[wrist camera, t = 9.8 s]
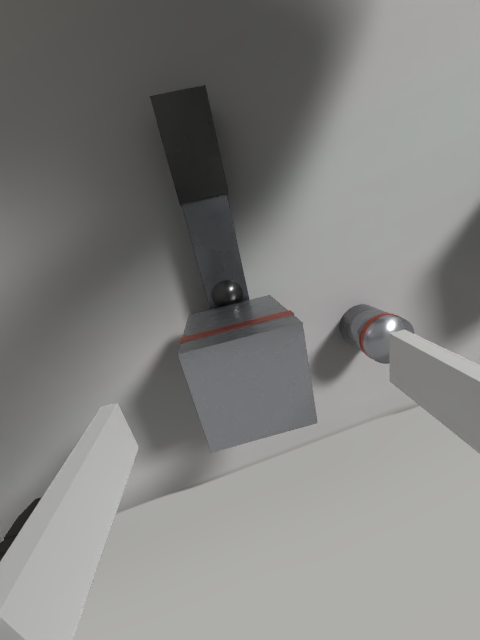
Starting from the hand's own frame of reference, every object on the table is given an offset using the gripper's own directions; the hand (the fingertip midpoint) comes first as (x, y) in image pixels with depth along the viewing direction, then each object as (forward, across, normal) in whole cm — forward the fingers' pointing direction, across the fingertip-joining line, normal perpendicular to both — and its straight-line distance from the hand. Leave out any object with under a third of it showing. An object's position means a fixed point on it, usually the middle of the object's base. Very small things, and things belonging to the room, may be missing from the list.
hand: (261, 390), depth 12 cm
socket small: (+11, +12, -4) cm, 17 cm away
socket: (+8, 0, -1) cm, 8 cm away
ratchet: (+11, 0, +6) cm, 13 cm away
